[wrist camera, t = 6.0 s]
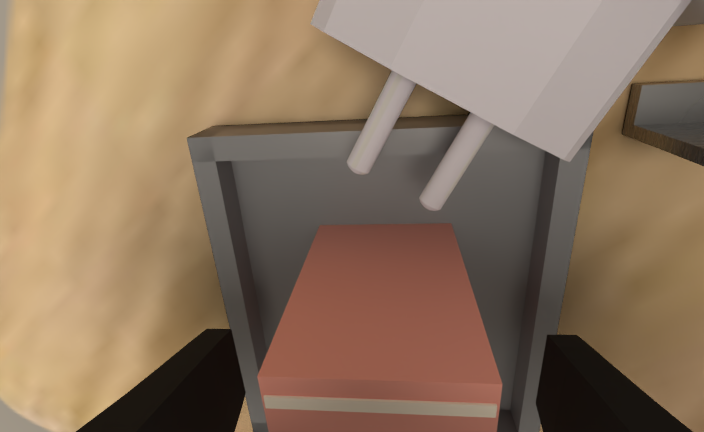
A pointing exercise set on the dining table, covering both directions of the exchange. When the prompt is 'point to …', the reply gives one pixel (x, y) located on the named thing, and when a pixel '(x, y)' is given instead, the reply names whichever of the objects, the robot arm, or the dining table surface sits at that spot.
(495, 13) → the charger
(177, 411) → the robot arm
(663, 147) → the bar
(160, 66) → the dining table surface
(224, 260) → the tray
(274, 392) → the salmon gift carton
